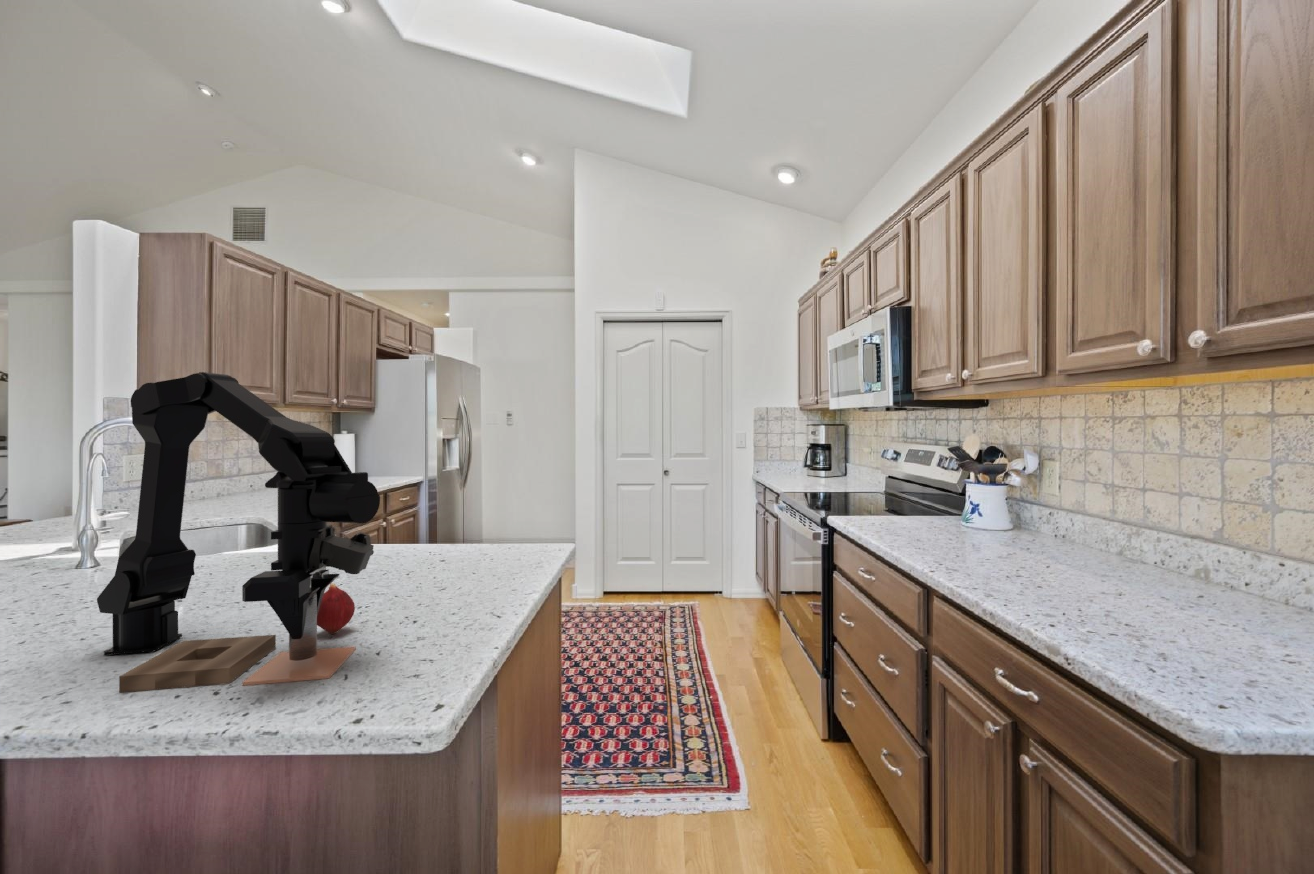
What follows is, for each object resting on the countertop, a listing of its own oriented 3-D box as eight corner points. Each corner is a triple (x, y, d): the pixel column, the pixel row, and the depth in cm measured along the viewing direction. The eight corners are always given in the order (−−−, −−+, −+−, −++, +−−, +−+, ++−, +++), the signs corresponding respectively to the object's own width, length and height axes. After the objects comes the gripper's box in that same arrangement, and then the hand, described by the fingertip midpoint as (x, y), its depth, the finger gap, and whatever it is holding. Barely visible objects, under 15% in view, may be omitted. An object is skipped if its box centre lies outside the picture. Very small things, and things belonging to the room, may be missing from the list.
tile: (242, 685, 69) (242, 682, 69) (280, 654, 79) (280, 651, 79) (328, 678, 71) (328, 675, 71) (355, 649, 81) (355, 646, 81)
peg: (311, 659, 74) (310, 593, 74) (284, 661, 73) (284, 594, 73) (320, 650, 77) (320, 586, 77) (295, 652, 76) (295, 588, 76)
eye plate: (119, 692, 67) (119, 676, 67) (183, 654, 79) (183, 640, 79) (229, 683, 70) (229, 667, 70) (275, 648, 81) (275, 634, 81)
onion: (362, 627, 90) (362, 579, 90) (338, 640, 84) (338, 588, 84) (329, 626, 91) (329, 578, 91) (303, 639, 85) (303, 588, 85)
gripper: (341, 529, 67) (341, 656, 67) (385, 510, 86) (386, 609, 86) (239, 533, 65) (239, 663, 65) (307, 512, 84) (307, 614, 83)
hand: (303, 634), depth 75 cm, fingers closed on peg, 3 cm apart
